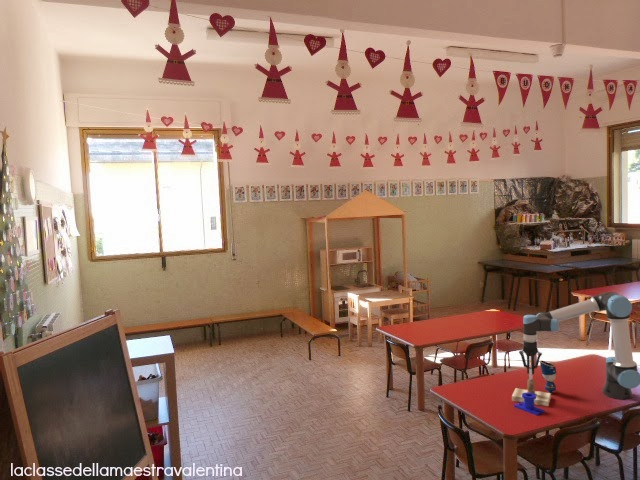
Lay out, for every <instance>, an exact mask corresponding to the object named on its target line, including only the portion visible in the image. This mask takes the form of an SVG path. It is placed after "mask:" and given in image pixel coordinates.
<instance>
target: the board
mask: <svg viewBox="0 0 640 480" xmlns="http://www.w3.org/2000/svg"><path fill="white" fill-rule="evenodd" d="M523 393H528V389H524V388H517V387H515V389H514V391H513V392H512V395H511V401H512V402H518V403H521V402H524V398H523V397H522V394H523ZM551 394H552V393H549V392H547V391H546V392H545V391H540V390H539V391H538V390H535V395H536V399H534V405H537V406H543V407H549V406H550V402H551V397H552V395H551Z"/></svg>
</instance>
